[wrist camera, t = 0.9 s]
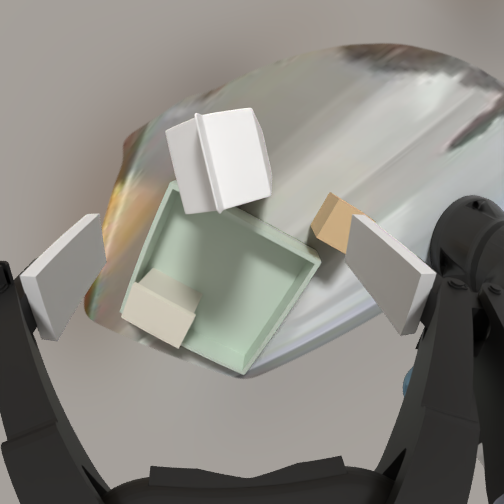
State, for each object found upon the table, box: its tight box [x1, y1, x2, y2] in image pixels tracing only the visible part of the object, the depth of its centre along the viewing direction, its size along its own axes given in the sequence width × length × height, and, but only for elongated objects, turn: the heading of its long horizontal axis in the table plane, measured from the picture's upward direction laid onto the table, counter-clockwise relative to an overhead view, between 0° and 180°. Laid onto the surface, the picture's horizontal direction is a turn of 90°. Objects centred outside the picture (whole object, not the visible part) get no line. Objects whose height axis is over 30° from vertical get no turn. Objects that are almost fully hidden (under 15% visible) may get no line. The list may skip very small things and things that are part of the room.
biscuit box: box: [310, 192, 376, 254], centre depth 36 cm, size 5×5×6 cm
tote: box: [120, 180, 321, 375], centre depth 40 cm, size 20×20×4 cm
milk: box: [165, 108, 272, 214], centre depth 27 cm, size 6×6×22 cm
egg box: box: [121, 268, 203, 349], centre depth 40 cm, size 9×6×7 cm, turn 62°
